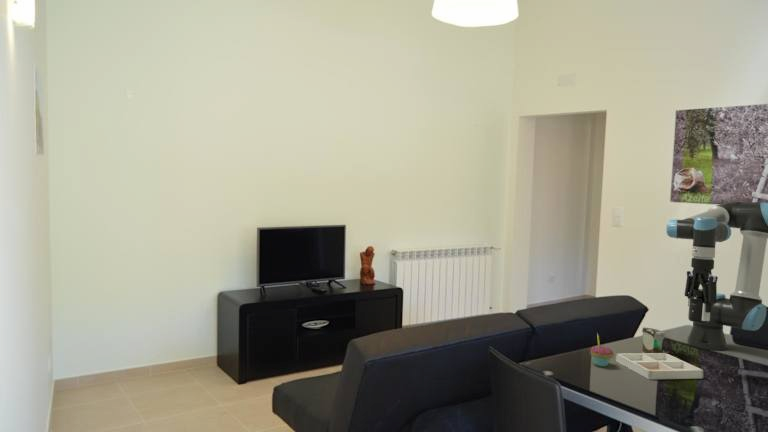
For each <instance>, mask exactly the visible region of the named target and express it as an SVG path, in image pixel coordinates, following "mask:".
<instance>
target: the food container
mask: <svg viewBox="0 0 768 432" xmlns="http://www.w3.org/2000/svg"><path fill="white" fill-rule="evenodd" d="M641 333H642V343H641V344H642V347H641V348H642V349H641V350H642V352H641V353H662V350H663V348H662V347H663V342H664V341H663V340H664V339H665V338H666V337H665V332H664V331H662V330H660V329H657V328H651V327H642V330H641Z"/></svg>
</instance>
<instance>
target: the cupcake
mask: <svg viewBox="0 0 768 432" xmlns="http://www.w3.org/2000/svg"><path fill="white" fill-rule="evenodd" d="M596 337H597V338H596V340H597V345H595V346H593V347H591V348H590V349H589V354H590V355H591V356H592V359H593V360H592V361H593V362H594V365H596V366H599V367H608V365H609V362H610V360H611V359H613V358H614V355H615V354H614V351H613V350H612V348H610V347H608V346H605V345H600V343H601V342H600V336H599V333H598V332H596Z"/></svg>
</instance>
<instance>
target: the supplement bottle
mask: <svg viewBox="0 0 768 432" xmlns="http://www.w3.org/2000/svg"><path fill="white" fill-rule="evenodd" d="M693 294H694V295H693V296H691V297H690V302H689V307H688V309H689V316H688V315H687V316H688V321H690V322H692V323H693V322H698V323H708V322H709V321H702V309H703V302H705V300H704V295H703V289H702V288H699V289H693Z"/></svg>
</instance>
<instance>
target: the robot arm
mask: <svg viewBox="0 0 768 432" xmlns="http://www.w3.org/2000/svg"><path fill="white" fill-rule="evenodd" d="M731 228H733V229H739V233H740V234H741V235H742V244H741V249H740V257H739V262H738V271H737V274H736V275H737V277H736V284H735V289H734V291H733V292H732V293H730V295H729V298H726V294H725V293H719V292H718V293H717V289H718V287H717V282H718V279H719V278H718V276H717V275H713V274H712V270H714V268H715V260H714V259H715V257H716V244H717V243H723V242H725V241H727V240H729V239H730V237H731V235H732V229H731ZM665 231H666V235H667V236H668V237H669V238H672V239H677V240H678V239H681V240H692V251H691V256H692V258H691V264H690V266H691V268H693V269H692V270H691V271H690V270H689V271H686V283H685V289H684V297H687V299H688V302H687V307H688V308H687V309H688V313H687V316H689V302H690V297H691V296H693V295H694V294H693V289H700V286H701V289H703V295H704V300H705V302H703V309H702V321H709V322H708V323H698V322H693V321H692V326H691V329H690V332H689V334H688V335H689V336H688V337H687V340H686V341H687V344H688V345H690V346H692V347H695V348H699V349H702V350H711V351H725V350H727V345H728V344H727V341H726V337H725V333H724V326H726V327H730V328H735V329H741V330H744V331H753V332H755V331H757V330H759V329H761V327H762V326H763V325H764V323H765V320H766V317H767V307H766V305H765V304H764V303H763V299H762V298H761V296H760V288H761V283H762V282H761V281H762V275H763V268H764V261H765V255H766V248H767V243H768V202H761V201H760V202H759V201H758V202H756V201H730V202H725V203H720V204H717V205H715V206H711V207H710V208H708V209H707V211H704V212H701V213H698V214H695V215H693V216H689V217H686V218H683V219H677V218H676V219H669V220H668V222H667V224H666V230H665Z"/></svg>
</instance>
